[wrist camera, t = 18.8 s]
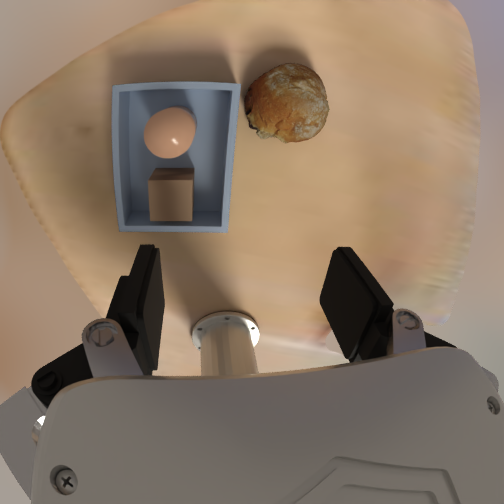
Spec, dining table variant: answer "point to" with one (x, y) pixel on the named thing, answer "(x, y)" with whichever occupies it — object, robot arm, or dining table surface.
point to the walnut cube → (171, 194)
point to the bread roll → (287, 103)
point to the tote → (197, 156)
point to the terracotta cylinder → (170, 131)
